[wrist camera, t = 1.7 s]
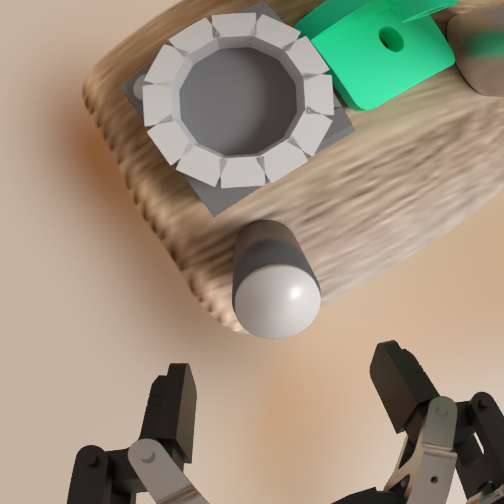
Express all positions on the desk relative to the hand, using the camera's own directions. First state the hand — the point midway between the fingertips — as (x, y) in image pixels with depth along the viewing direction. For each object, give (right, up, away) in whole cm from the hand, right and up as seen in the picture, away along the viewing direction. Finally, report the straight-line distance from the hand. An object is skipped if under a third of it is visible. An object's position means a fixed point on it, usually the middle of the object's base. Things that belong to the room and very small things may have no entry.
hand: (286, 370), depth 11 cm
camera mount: (+8, +21, +5) cm, 23 cm away
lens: (0, +5, +11) cm, 12 cm away
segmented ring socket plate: (-2, +15, +7) cm, 16 cm away
